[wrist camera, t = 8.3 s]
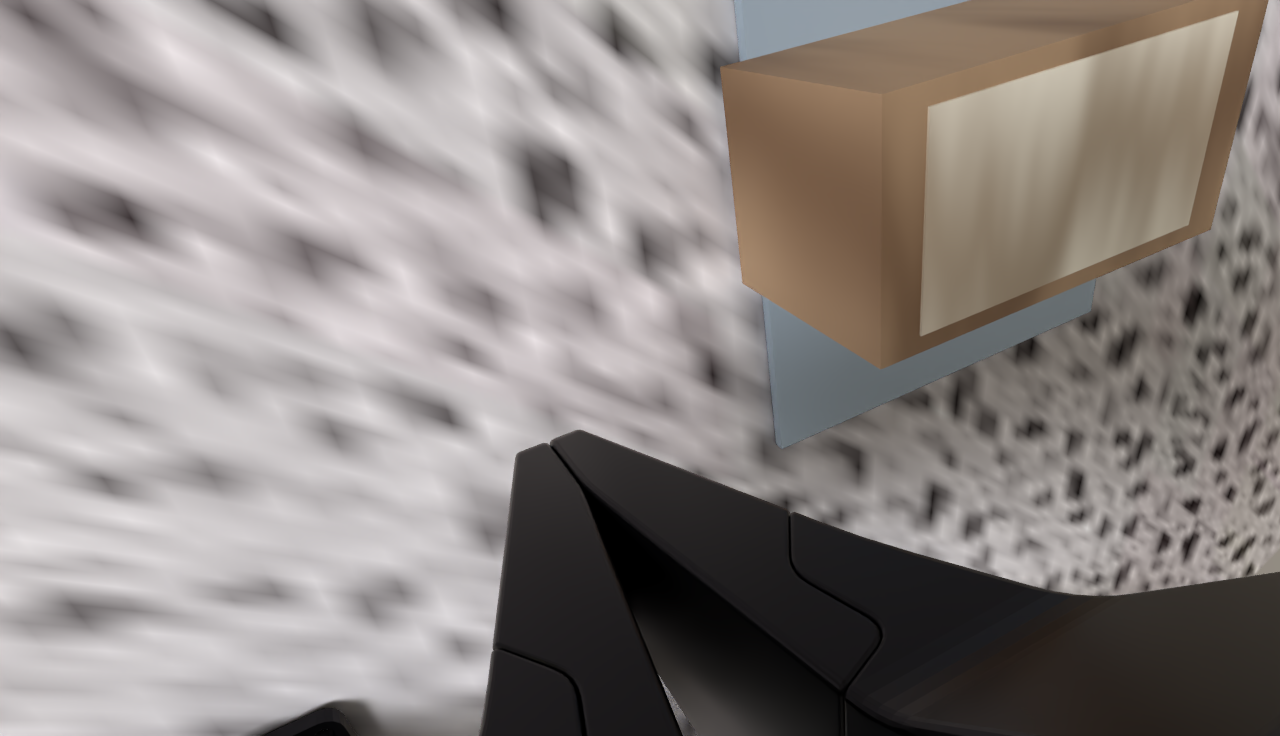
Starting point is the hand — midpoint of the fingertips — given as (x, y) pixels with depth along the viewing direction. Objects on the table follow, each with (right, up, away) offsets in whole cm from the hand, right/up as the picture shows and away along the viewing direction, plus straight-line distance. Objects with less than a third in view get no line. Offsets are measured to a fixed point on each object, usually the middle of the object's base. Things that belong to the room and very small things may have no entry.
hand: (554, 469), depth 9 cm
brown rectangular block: (+4, +4, +5) cm, 8 cm away
